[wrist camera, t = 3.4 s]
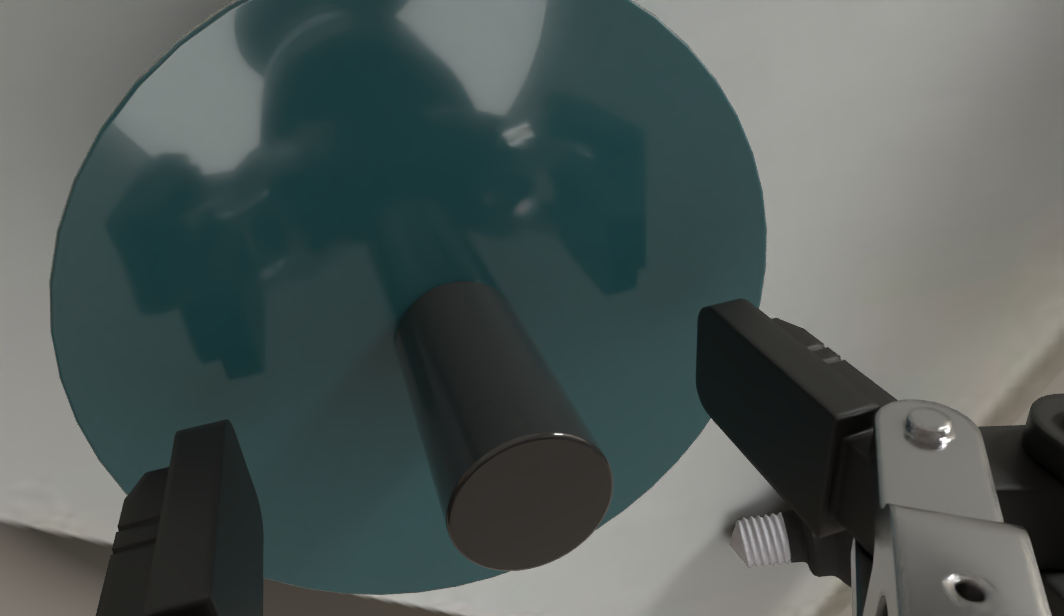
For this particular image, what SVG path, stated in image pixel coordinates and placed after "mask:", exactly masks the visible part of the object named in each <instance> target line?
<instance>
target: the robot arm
mask: <svg viewBox="0 0 1064 616" xmlns="http://www.w3.org/2000/svg"><path fill="white" fill-rule="evenodd" d="M696 388H697V392H698V396H699V399H700V402H701V404H702V406H703V408H704V409H705V411H706V412H707V414H708V415H709V416H710V417H711V418H712V419H713V421H714V422H715V423H716V424H717V425H718V426H719V427H720V428H721V430H722V431H723V432H724V433H725V434H726V435H727V436H728V437H729V439H730V440H731V441H732V442H733V443H734V444H735V445H736V446H737V448H738V449H739V450H740V451H741V452H742V453H743V454H744V455H745V457H746V458H747V459H748V460H749V461H750V462H751V463H752V464H753V466H754V467H755V468H756V469H757V470H758V471H759V472H760V473H761V475H762V476H763V477H764V478H765V479H766V480H767V481H768V482H769V484H770V485H771V486H772V487H773V488H774V489H775V490H776V491H777V493H778V494H779V495H780V496H781V497H782V498H783V499H784V500H785V502H786V503H787V504H788V505H789V506H790V507H791V508H792V509H793V511H794V512H795V513H796V514H797V515H798V516H799V517H800V518H801V520H802V521H803V522H804V523H805V524H806V525H807V526H808V527H809V529H810V530H811V531H812V532H813V533H814V534H815V535H816V536H817V538H818V539H820V538H823V537H826V536H829V535H832V534H835V533H838V532H841V531H844V530H847V531H848V532H849V533H850V534H851V535H852V536H853V537H854V538H853V543H852V549H851V591H852V616H1064V394H1052V395H1047V396H1044V397H1041V398H1039V399H1037V400H1036V401H1035V402H1034V403H1033V404H1032V406H1031V408H1030V412H1029V415H1028V418H1027V421H1026V425H1015V426H988V427H977V425H976V424H975V423H974V422H973V421H972V420H971V419H969V418H968V417H967V416H965V415H964V414H962V413H960V412H959V411H957V410H955V409H952V408H950V407H948V406H945V405H942V404H938V403H935V402H930V401H924V400H900V401H898V400H896V399H895V398H894V397H892V396H891V395H890V394H889V393H887V392H886V391H885V390H883V389H882V388H881V387H879V386H878V385H877V384H875V383H874V382H873V381H872V380H870V379H869V378H868V377H866V376H865V375H864V374H862V373H861V372H860V371H858V370H857V369H856V368H854V367H853V366H852V365H851V364H849V363H848V362H847V361H845V360H841V359H840V356H839V355H837V354H836V353H835V352H834V351H832V350H831V349H830V348H828V347H827V348H825V347H824V344H823V343H822V342H820V341H819V340H818V339H817V338H815V337H814V336H813V335H811V334H810V333H809V332H807V331H806V330H805V329H803V328H801V327H798V326H795V325H793V324H790V323H788V322H785V321H783V320H780V319H778V318H773V319H771V318H769V317H768V316H767V315H766V314H764V313H763V312H762V311H761V310H759V309H758V308H757V307H755V306H754V305H753V304H752V303H750V302H749V301H748V300H746V299H743V298H740V299H736V300H731V301H727V302H723V303H719V304H715V305H710V306H706V307H703V308H702V309H701V310H700V312H699V315H698V322H697V353H696ZM118 530H119V532H116V536H115V540H114V544H113V548H112V550H113V555H111V556H110V560H109V564H108V568H107V572H106V576H105V581H104V585H103V588H102V593H101V597H100V601H99V605H98V609H97V613H96V616H263V547H264V532H263V521H262V515H261V509H260V505H259V500H258V497H257V494H256V491H255V488H254V485H253V482H252V479H251V476H250V473H249V470H248V468H247V465H246V462H245V459H244V456H243V453H242V450H241V447H240V445H239V442H238V439H237V436H236V433H235V430H234V428H233V426H232V424H231V422H230V421H229V420H228V419H226V420H221V421H217V422H213V423H209V424H205V425H200V426H196V427H192V428H188V429H184V430H179V431H177V432H176V434H175V437H174V443H173V449H172V454H171V460H170V465H169V467H166V468H162V469H158V470H154V471H150V472H146V473H145V474H144V475H143V476H142V478H141V479H140V480H139V481H138V483H137V484H136V485H135V487H134V488H133V489H132V491H131V492H130V493H129V494H128V496H127V497H126V498H125V500H124V503H123V507H122V512H121V516H120V520H119V524H118Z"/></svg>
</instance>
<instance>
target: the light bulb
mask: <svg viewBox="0 0 1064 616" xmlns="http://www.w3.org/2000/svg"><path fill="white" fill-rule="evenodd" d="M853 538H854V537H853V536H852V535H851V534H850V533H849V532H848V531H847V530H844V531H841V532H838V533H835V534H832V535H829V536H826V537H823V538H820V539H818V538H817V536H816V535H815V534H814V533H813V532H812V531H811V530H810V529H809V527H808V526H807V525H806V524H805V523H804V522H803V521H802V520H801V518H800V517H799V516H798V515H797V514H796V513H795V512H794V511H793V510H791V511H786V512H779V513H778V515H774V513H772V514H771V516H767V515H766V514H765V515H764V516H763V517H760V516H759V515H757V517H756V518H753V517H752V516H750V517H749V519H745V517H743V518H742V520H738V519H737V522H736V525H735V528H734V531H733V534H732V537H731V540H730V543H729V545H730V546H731V547H732V548H733V549H734V551H735V552H736V553H737V554H738V555H739V557H740V558H741V559H742V560H743V561H744V563H745V564H746V565H747V566H748V567H749V568H751V566H753V565H755V566H756V567H759V565H760V564H762V565H763V566H766V564H768V563H770V564H771V565H774V563H775V562H776V563H778V564H780V565H781V562H783V561H784V562H785V563H787V564H788V562H789V561H791V563H792V562H806V563H807V564H808V566H809V568H810V570H811V572H812V573H813V574H814V575H815V576H818V577H822V576H836V577H838V578H839V579H841V580H842V581H843V582H844V583H845V584H847V585H848V586H850V587H851V549H852V543H853Z"/></svg>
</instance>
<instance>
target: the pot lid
mask: <svg viewBox="0 0 1064 616" xmlns="http://www.w3.org/2000/svg"><path fill="white" fill-rule="evenodd" d="M766 235H767V228H766V219H765V210H764V200H763V191H762V187H761V183H760V179H759V175H758V171H757V167H756V163H755V159H754V155H753V152H752V150H751V147H750V145H749V142H748V140H747V138H746V135H745V133H744V130H743V128H742V125H741V123H740V121H739V118H738V116H737V114H736V112H735V110H734V109H733V107H732V105H731V104H730V102H729V100H728V99H727V97H726V95H725V94H724V92H723V90H722V89H721V87H720V85H719V84H718V82H717V80H716V79H715V77H714V76H713V75H712V74H711V73H710V71H709V70H708V69H707V68H706V66H705V65H704V64H703V63H702V62H701V60H700V59H699V58H698V57H697V55H696V54H695V53H694V52H693V51H692V49H691V48H690V47H689V46H688V45H687V44H686V43H685V42H684V41H683V40H682V39H681V38H679V37H678V36H677V35H676V34H675V33H674V32H673V31H672V30H670V29H669V28H668V27H667V26H666V25H665V24H664V23H663V22H662V21H660V20H659V19H658V18H657V17H656V16H655V15H654V14H652V13H651V12H649V11H648V10H646V9H644V8H643V7H641V6H640V5H638V4H637V3H635V2H634V1H632V0H233V1H231V2H229V3H228V4H226V5H225V6H223V7H222V8H220V9H219V10H218V11H216V12H215V13H213V14H212V15H211V16H209V17H208V18H206V19H205V20H204V21H202V22H201V23H199V24H198V25H197V26H195V27H194V28H192V29H191V30H190V31H188V32H187V33H185V34H184V35H182V36H181V37H180V38H179V39H178V40H177V41H176V42H175V43H174V44H173V45H172V46H171V47H170V48H169V49H168V50H167V51H166V52H165V53H164V54H163V55H162V56H161V57H159V58H158V59H157V60H156V61H155V62H154V63H153V64H152V65H151V66H150V67H149V68H148V69H147V70H146V71H145V72H144V73H143V74H142V75H141V76H140V77H139V78H138V79H137V81H136V82H135V83H134V85H133V86H132V87H131V89H130V90H129V91H128V93H127V94H126V95H125V97H124V98H123V99H122V101H121V102H120V103H119V105H118V106H117V107H116V109H115V110H114V111H113V113H112V114H111V115H110V117H109V118H108V119H107V121H106V122H105V123H104V125H103V126H102V127H101V129H100V130H99V132H98V134H97V136H96V138H95V140H94V142H93V144H92V145H91V147H90V149H89V151H88V153H87V155H86V157H85V159H84V161H83V163H82V165H81V166H80V168H79V170H78V172H77V174H76V176H75V178H74V180H73V183H72V186H71V189H70V192H69V195H68V198H67V202H66V205H65V208H64V211H63V214H62V217H61V220H60V223H59V226H58V229H57V234H56V241H55V247H54V254H53V261H52V267H51V274H50V281H49V286H50V329H51V336H52V341H53V346H54V351H55V356H56V361H57V366H58V371H59V376H60V380H61V382H62V385H63V388H64V390H65V393H66V395H67V398H68V401H69V403H70V406H71V409H72V411H73V414H74V417H75V419H76V421H77V423H78V425H79V427H80V428H81V430H82V432H83V434H84V435H85V437H86V439H87V441H88V442H89V444H90V446H91V447H92V449H93V451H94V453H95V454H96V456H97V458H98V460H99V461H100V462H101V463H102V465H103V466H104V467H105V468H106V470H107V471H108V472H109V473H110V475H111V476H112V477H113V478H114V480H115V481H116V482H117V483H118V484H119V486H120V487H121V488H122V489H123V491H124V492H125V493H126V494H127V495H128V494H129V493H130V492H131V491H132V489H133V488H134V487H135V485H136V484H137V483H138V481H139V480H140V479H141V478H142V476H143V475H144V474H145V473H146V472H150V471H154V470H158V469H162V468H166V467H169V465H170V460H171V454H172V449H173V443H174V437H175V434H176V432H177V431H179V430H184V429H188V428H192V427H196V426H200V425H205V424H209V423H213V422H217V421H221V420H226V419H228V420H229V421H230V422H231V424H232V426H233V428H234V430H235V433H236V436H237V439H238V442H239V445H240V447H241V450H242V453H243V456H244V459H245V462H246V465H247V468H248V470H249V473H250V476H251V479H252V482H253V485H254V488H255V491H256V494H257V497H258V500H259V505H260V509H261V515H262V521H263V532H264V547H263V578H265V579H268V580H272V581H276V582H281V583H285V584H289V585H293V586H297V587H301V588H306V589H313V590H320V591H328V592H335V593H343V594H372V595H386V594H401V593H417V592H425V591H431V590H437V589H444V588H450V587H456V586H460V585H464V584H468V583H472V582H476V581H480V580H484V579H488V578H492V577H495V576H498V575H501V574H503V573H506V572H509V571H519V570H525V569H531V568H535V567H539V566H542V565H544V564H547V563H550V562H552V561H554V560H556V559H559V558H561V557H562V556H564V555H566V554H568V553H569V552H571V551H572V550H574V549H575V548H576V547H578V546H579V545H580V544H581V543H583V542H584V541H585V540H586V539H587V538H588V537H589V536H590V535H591V534H592V533H593V532H594V531H595V530H596V529H598V528H599V527H601V526H602V525H604V524H605V523H607V522H608V521H609V520H611V519H612V518H614V517H615V516H617V515H618V514H620V513H621V512H623V511H624V510H625V509H626V508H628V507H629V506H630V505H631V504H632V503H634V502H635V501H636V500H637V499H638V498H640V497H641V496H642V495H643V494H644V493H646V492H647V491H648V490H649V489H650V488H652V487H653V486H654V484H655V483H656V482H657V481H658V480H659V479H660V478H661V477H662V476H663V475H664V474H665V473H666V472H667V471H668V470H669V469H670V468H671V467H672V466H673V465H674V464H675V463H676V462H677V461H678V460H679V459H680V458H681V456H682V455H683V454H684V453H685V452H686V450H687V449H688V448H689V447H690V446H691V444H692V443H693V442H694V441H695V440H696V438H697V437H698V436H699V435H700V433H701V432H702V430H703V429H704V427H705V426H706V424H707V423H708V421H709V420H710V418H711V417H710V416H709V415H708V414H707V412H706V411H705V409H704V408H703V406H702V404H701V402H700V399H699V396H698V392H697V388H696V353H697V322H698V315H699V312H700V310H701V309H702V308H703V307H706V306H710V305H715V304H719V303H723V302H727V301H731V300H736V299H740V298H743V299H746V300H748V301H749V302H750V303H752V304H753V305H754V306H755V307H757V308H758V309H759V306H760V301H761V295H762V288H763V282H764V275H765V268H766Z"/></svg>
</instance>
